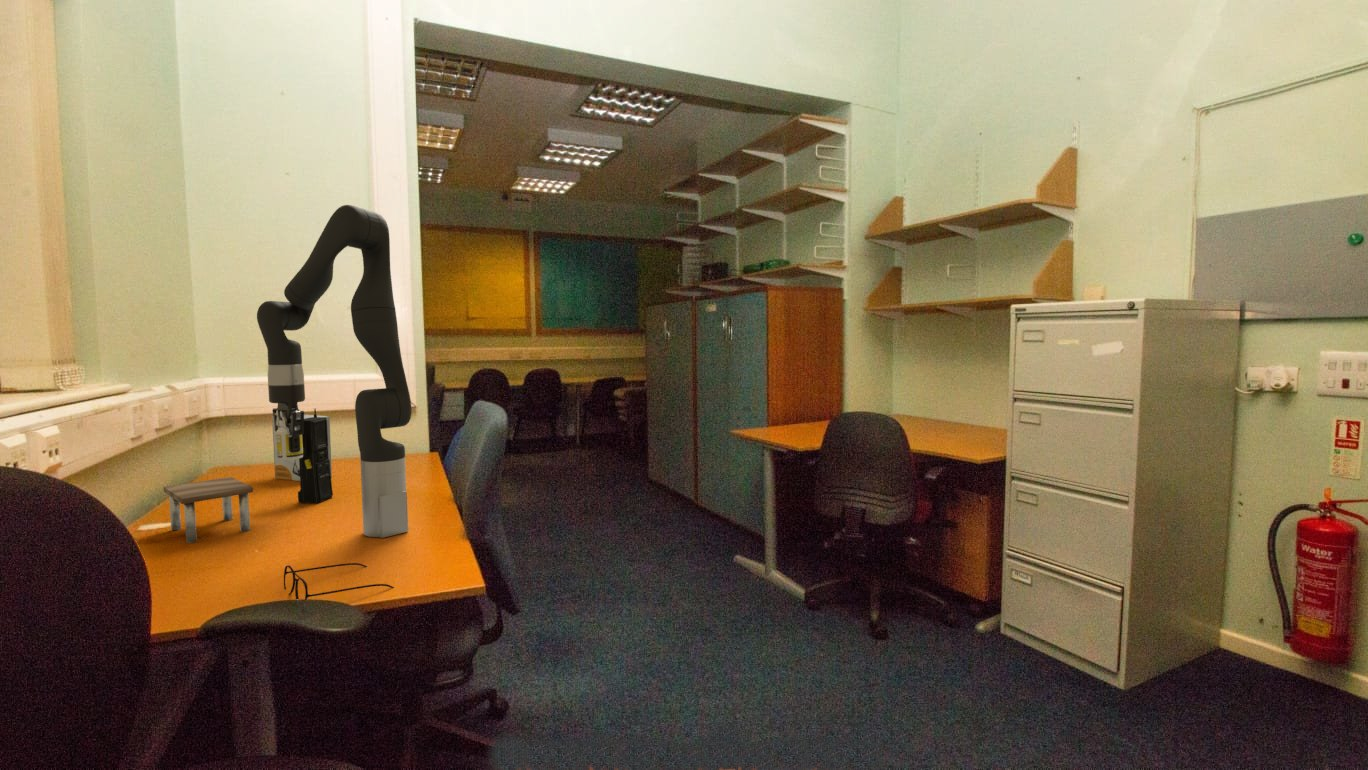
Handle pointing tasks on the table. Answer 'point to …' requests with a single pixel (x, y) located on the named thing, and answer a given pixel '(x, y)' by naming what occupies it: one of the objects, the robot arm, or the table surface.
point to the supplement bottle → (286, 444)
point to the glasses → (324, 592)
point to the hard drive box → (292, 467)
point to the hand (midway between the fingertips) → (290, 450)
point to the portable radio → (315, 462)
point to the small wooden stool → (206, 492)
